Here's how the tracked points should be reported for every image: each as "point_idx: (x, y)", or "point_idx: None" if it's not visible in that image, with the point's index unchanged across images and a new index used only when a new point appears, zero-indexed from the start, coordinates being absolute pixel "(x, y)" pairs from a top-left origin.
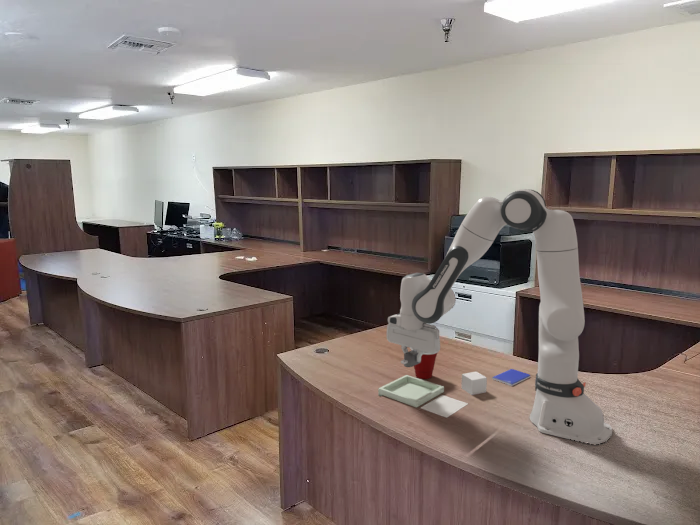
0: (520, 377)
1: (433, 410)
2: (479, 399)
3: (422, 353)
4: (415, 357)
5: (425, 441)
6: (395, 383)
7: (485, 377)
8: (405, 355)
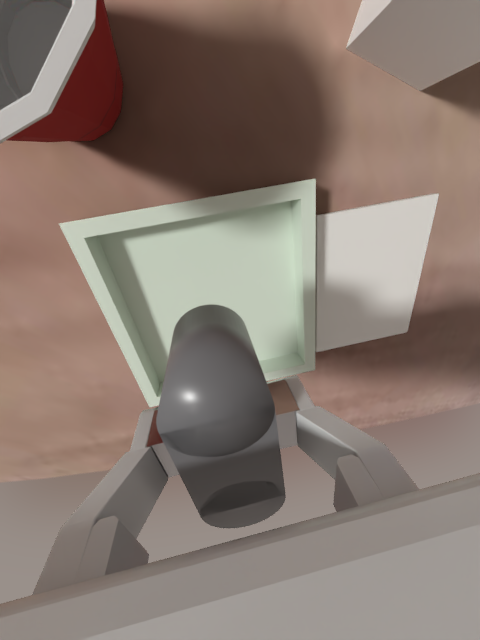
0: None
1: (356, 332)
2: (460, 87)
3: (361, 444)
4: (282, 439)
5: (400, 416)
6: (128, 326)
7: None
8: (244, 524)
